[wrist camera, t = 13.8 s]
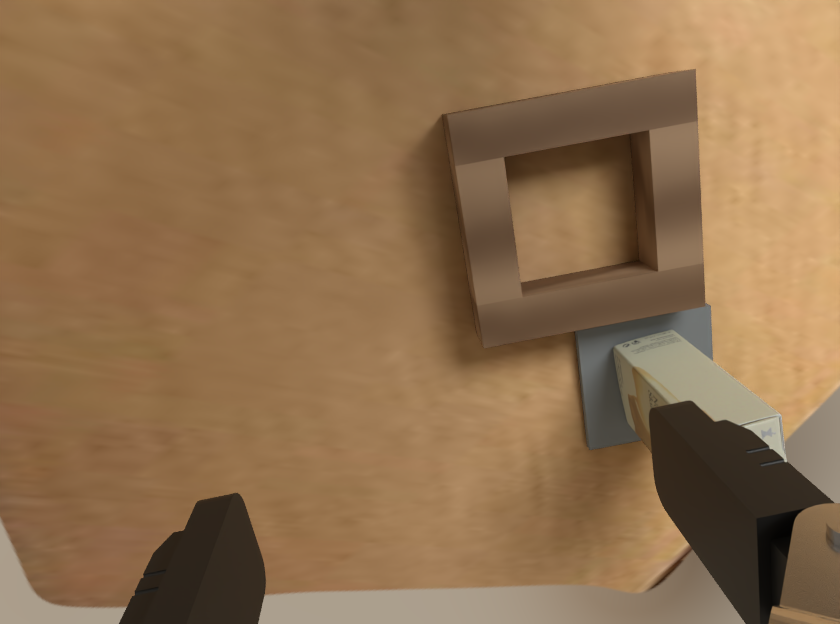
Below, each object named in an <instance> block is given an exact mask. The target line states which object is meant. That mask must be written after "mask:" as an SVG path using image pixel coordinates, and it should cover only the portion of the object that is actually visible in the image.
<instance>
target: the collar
mask: <svg viewBox="0 0 840 624" xmlns="http://www.w3.org/2000/svg"><path fill="white" fill-rule="evenodd" d="M442 118H443V124H444V131H445V137H446V143H447V150H448V156H449V162H450V168H451V175H452V181H453V187H454V194H455V200H456V206H457V213H458V219H459V225H460V232H461V238H462V244H463V250H464V257H465V263H466V269H467V276H468V282H469V288H470V295H471V301H472V307H473V314H474V320H475V326H476V332H477V335H478V337H479V339H480V341H481V344H482V346H483V348H489V347H494V346H499V345H504V344H510V343H515V342H520V341H525V340H531V339H536V338H541V337H547V336H552V335H557V334H562V333H568V332H573V331H578V330H584V329H589V328H594V327H599V326H605V325H610V324H615V323H621V322H626V321H631V320H636V319H642V318H647V317H652V316H657V315H663V314H668V313H673V312H679V311H684V310H689V309H694V308H700V307H705V284H704V260H703V236H702V212H701V188H700V164H699V140H698V116H697V92H696V69H693V70H684V71H676V72H669V73H664V74H658V75H653V76H648V77H642V78H637V79H632V80H626V81H621V82H615V83H610V84H605V85H599V86H594V87H588V88H583V89H578V90H572V91H567V92H561V93H556V94H551V95H545V96H540V97H535V98H529V99H524V100H518V101H513V102H508V103H502V104H497V105H491V106H486V107H481V108H475V109H470V110H465V111H459V112H454V113H448V114H443V115H442ZM626 134H630V140H631V154H632V167H633V181H634V195H635V208H636V222H637V236H638V249H639V261H634V262H629V263H624V264H618V265H613V266H608V267H602V268H597V269H592V270H586V271H581V272H576V273H570V274H565V275H560V276H555V277H549V278H544V279H539V280H533V281H528V282H523V283H521V282H520V275H519V267H518V260H517V252H516V245H515V237H514V229H513V222H512V214H511V207H510V199H509V192H508V184H507V177H506V169H505V162H504V157H508V156H513V155H518V154H524V153H529V152H534V151H540V150H545V149H551V148H556V147H561V146H567V145H572V144H577V143H583V142H588V141H593V140H599V139H604V138H609V137H615V136H620V135H626Z"/></svg>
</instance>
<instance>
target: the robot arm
mask: <svg viewBox="0 0 840 624" xmlns="http://www.w3.org/2000/svg"><path fill="white" fill-rule="evenodd" d="M649 428H650V438H651V449H652V460H653V471H654V480H655V485H656V489H657V492H658V495H659V498H660V501H661V503H662V505H663V507H664V509H665V510H666V512H667V513H668V515H669V516H670V518H671V519H672V521H673V522H674V523H675V525H676V526H677V528H678V529H679V530H680V532H681V533H682V535H683V536H684V537H685V539H686V540H687V542H688V543H689V544H690V546H691V547H692V549H693V550H694V551H695V553H696V554H697V555H698V557H699V558H700V560H701V561H702V563H703V564H704V565H705V567H706V568H707V570H708V571H709V573H710V574H711V575H712V577H713V578H714V580H715V581H716V582H717V584H718V585H719V587H720V588H721V589H722V591H723V592H724V594H725V595H726V597H727V598H728V599H729V601H730V602H731V603H732V605H733V606H734V608H735V609H736V611H737V612H738V613H739V615H740V616H741V618H742V619H743V620H744V622H745V623H746V624H840V503H834V502H833V501H832V500H831V499H830V498H828V497H827V496H826V495H825V494H824V493H822V492H821V491H820V490H819V489H818V488H817V487H816V486H815V485H813V484H812V483H811V482H810V481H809V480H808V479H807V478H805V477H804V476H803V475H802V474H801V473H800V472H798V471H797V470H796V469H795V468H794V467H793V466H792V465H791V464H789V463H788V462H785V461H784V458H783V457H781V456H780V455H779V454H778V453H777V452H776V451H775V450H773V449H770V448H769V445H768V444H766V443H765V442H764V441H763V440H762V439H761V438H760V437H758V436H757V435H756V434H755V433H754V432H753V431H752V430H749V429H747V428H745V427H742V426H740V425H737V424H735V423H733V422H730V421H728V420H726V419H725V420H721V421H716V422H714V421H713V420H712V419H711V418H710V417H709V416H708V415H707V414H706V413H705V412H704V411H703V410H702V409H700V408H699V407H698V406H697V405H696V404H695V403H694V402H693V401H691V400H688V401H683V402H678V403H673V404H668V405H664V406H659V407H654V408H651V409H650V412H649ZM143 575H144V578H141V580H140V582H139V584H138V586H137V588H136V590H135V596H132V598H131V600H130V602H129V604H128V606H127V608H126V610H125V612H124V614H123V617H122V619H121V620H120V623H119V624H258V621H259V616H260V612H261V608H262V603H263V599H264V594H265V587H266V577H265V568H264V562H263V558H262V555H261V552H260V549H259V546H258V543H257V540H256V537H255V534H254V531H253V528H252V525H251V522H250V518H249V515H248V512H247V509H246V506H245V503H244V501H243V499H242V497H241V496H240V494H238V493H233V494H229V495H224V496H219V497H214V498H209V499H205V500H200V501H198V502H197V503H196V505H195V507H194V509H193V511H192V514H191V516H190V518H189V520H188V523H187V525H186V527H185V529H184V531H179V532H174V533H173V534H172V535H171V536H170V537H169V538H168V539H167V540H166V541H165V542H164V543H163V544H162V545H161V546H160V547H159V548H158V549H157V550H156V551H155V552H154V553H153V555H152V557H151V559H150V561H149V563H148V565H147V568H146V570H145V572H144V574H143Z"/></svg>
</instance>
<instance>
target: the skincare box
mask: <svg viewBox="0 0 840 624" xmlns="http://www.w3.org/2000/svg"><path fill="white" fill-rule="evenodd" d="M613 351H614V359H615V365H616V371H617V377H618V382H619V388H620V392H621V397H622V401H623V406H624V410H625V414H626V419H627V422H628V424H629V425H630V426H631V428H632V429H633V430H634V431H635V433H636V434H637V435H638V436H639V438H640V439H641V440H642V441H643V443H644V444H645V445H646V446H647V448H648V449H649V450H650V451H651V453H652V449H651V438H650V428H649V412H650V409H651V408H654V407H659V406H664V405H668V404H673V403H678V402H683V401H688V400H691V401H693V402H694V403H695V404H696V405H697V406H698V407H699V408H700V409H702V410H703V411H704V412H705V413H706V414H707V415H708V416H709V417H710V418H711V419H712V420H713V421H714V422H716V421H721V420H725V419H726V420H728V421H730V422H733V423H735V424H737V425H740V426H742V427H745V428H747V429H749V430H752V431H753V432H754V433H755V434H756V435H757V436H758V437H760V438H761V439H762V440H763V441H764V442H765V443H766V444H768V445H769V448H770V449H773V450H775V451H776V452H777V453H778V454H779V455H780V456H781V457H783V458H784V461H785V462H787V460H786V455H785V445H784V436H783V426H782V417H781V414H780V413H778V412H777V411H776V410H775V409H773V408H772V407H771V406H769V405H768V404H767V403H765V402H764V401H763V400H762V399H760V398H759V397H758V396H757V395H755V394H754V393H753V392H752V391H750V390H749V389H748V388H747V387H745V386H744V385H743V384H741V383H740V382H739V381H737V380H736V379H735V378H734V377H733V376H731V375H730V374H729V373H727V372H726V371H725V370H724V369H722V368H721V367H720V366H718V365H717V364H716V363H715V362H713V361H712V360H711V359H710V358H708V357H707V356H706V355H704V354H703V353H702V352H701V351H699V350H698V349H697V348H696V347H694V346H693V345H692V344H690V343H689V342H688V341H687V340H685V339H684V338H683V337H682V336H680V335H679V334H678V333H677V332H675V331H674V330H668V331H664V332H660V333H656V334H652V335H649V336H645V337H641V338H638V339H634V340H631V341H628V342H625V343H622V344H619V345H616V346H614V348H613Z"/></svg>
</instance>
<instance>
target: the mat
mask: <svg viewBox="0 0 840 624" xmlns="http://www.w3.org/2000/svg"><path fill="white" fill-rule="evenodd" d="M668 330H674V331H675V332H677V333H678V334H679V335H680V336H682V337H683V338H684V339H685V340H687V341H688V342H689V343H690V344H692V345H693V346H694V347H696V348H697V349H698V350H699V351H701V352H702V353H703V354H704V355H706V356H707V357H708V358H710V359H711V360H712V361H713V352H712V327H711V306H710V305H708V304H707V303H705V307H700V308H694V309H689V310H684V311H679V312H673V313H668V314H663V315H657V316H652V317H647V318H642V319H636V320H631V321H626V322H621V323H615V324H610V325H605V326H599V327H594V328H589V329H584V330H578V331H575V339H576V348H577V357H578V367H579V376H580V385H581V394H582V403H583V413H584V422H585V431H586V440H587V447H588V448H589V450H593V449H599V448H604V447H609V446H614V445H619V444H625V443H630V442H635V441H640V440H641V439H640V438H639V436H638V435H637V434H636V433H635V431H634V430H633V429H632V428H631V426H630V425H629V424H628V422H627V419H626V414H625V410H624V406H623V401H622V397H621V392H620V388H619V382H618V377H617V371H616V365H615V359H614V351H613V348H614V346H616V345H619V344H622V343H625V342H628V341H631V340H634V339H638V338H641V337H645V336H649V335H652V334H656V333H660V332H664V331H668Z"/></svg>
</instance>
